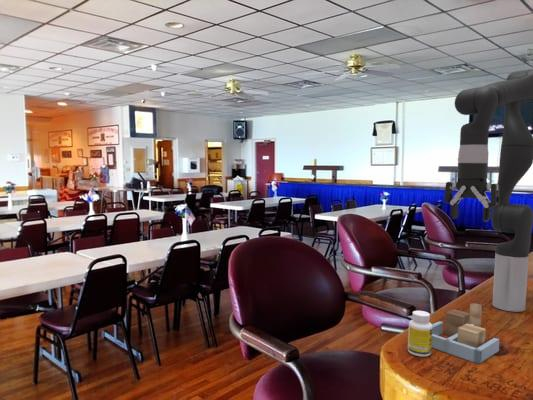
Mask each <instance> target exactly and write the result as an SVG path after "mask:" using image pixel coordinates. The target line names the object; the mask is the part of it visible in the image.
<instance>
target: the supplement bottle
mask: <svg viewBox="0 0 533 400" xmlns="http://www.w3.org/2000/svg"><path fill="white" fill-rule="evenodd" d="M411 316H412V319H411V320H409V323H408V334H407V335H408V336H407V337H408V338H407V351H408V352H409V353H410V354H411V355H413V356H416V357H421V358H422V357H423V358H424V357H425V358H426V357H429V356H430V355H431V354H432V347H431V346H432V329H433V328H432V324H433V323H431V322H430V319H431V313H429V312H428V311H425V310H413V311H412V315H411Z"/></svg>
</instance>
